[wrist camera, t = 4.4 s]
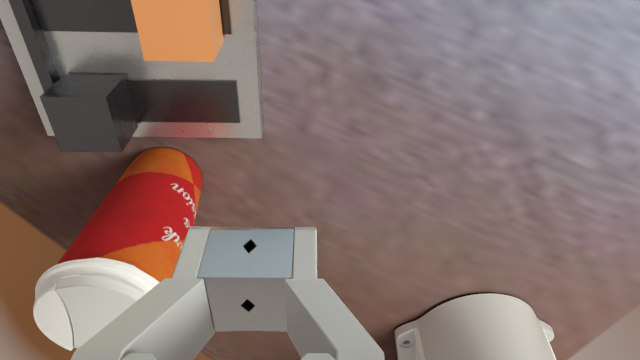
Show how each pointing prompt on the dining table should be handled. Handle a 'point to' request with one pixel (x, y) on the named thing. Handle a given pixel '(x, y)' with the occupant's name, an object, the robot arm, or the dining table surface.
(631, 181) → the dining table surface
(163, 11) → the orange cube
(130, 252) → the coffee cup
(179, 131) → the plate
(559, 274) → the dining table surface
